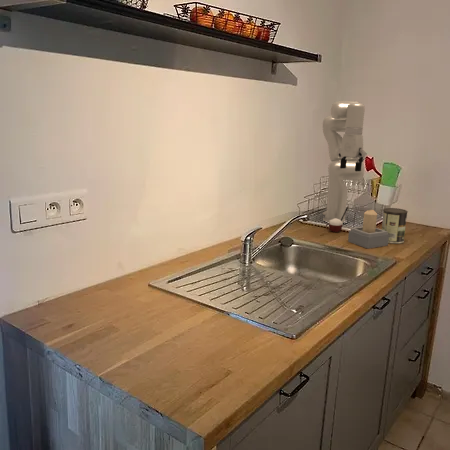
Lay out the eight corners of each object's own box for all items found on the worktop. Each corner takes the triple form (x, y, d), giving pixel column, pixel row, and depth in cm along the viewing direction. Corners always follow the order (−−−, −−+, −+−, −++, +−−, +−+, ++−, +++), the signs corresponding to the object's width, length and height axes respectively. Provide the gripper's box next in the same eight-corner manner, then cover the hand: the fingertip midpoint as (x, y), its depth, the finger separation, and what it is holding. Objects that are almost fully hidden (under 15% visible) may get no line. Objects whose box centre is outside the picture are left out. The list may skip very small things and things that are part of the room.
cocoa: (324, 232, 238) (325, 207, 235) (328, 229, 244) (329, 205, 241) (344, 234, 234) (345, 209, 231) (348, 231, 239) (348, 206, 236)
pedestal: (347, 241, 222) (349, 228, 220) (367, 238, 228) (369, 225, 226) (367, 248, 212) (369, 234, 210) (387, 245, 217) (389, 231, 216)
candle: (367, 230, 222) (369, 208, 220) (377, 232, 218) (380, 210, 216) (359, 231, 219) (361, 209, 217) (369, 234, 215) (372, 212, 212)
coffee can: (399, 237, 230) (403, 208, 227) (407, 244, 220) (411, 213, 217) (377, 237, 231) (380, 207, 227) (383, 243, 221) (387, 212, 217)
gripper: (334, 130, 229) (331, 167, 233) (361, 133, 214) (357, 172, 218) (346, 130, 232) (343, 167, 237) (374, 133, 218) (370, 172, 222)
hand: (350, 169), depth 228 cm, fingers open, 9 cm apart
